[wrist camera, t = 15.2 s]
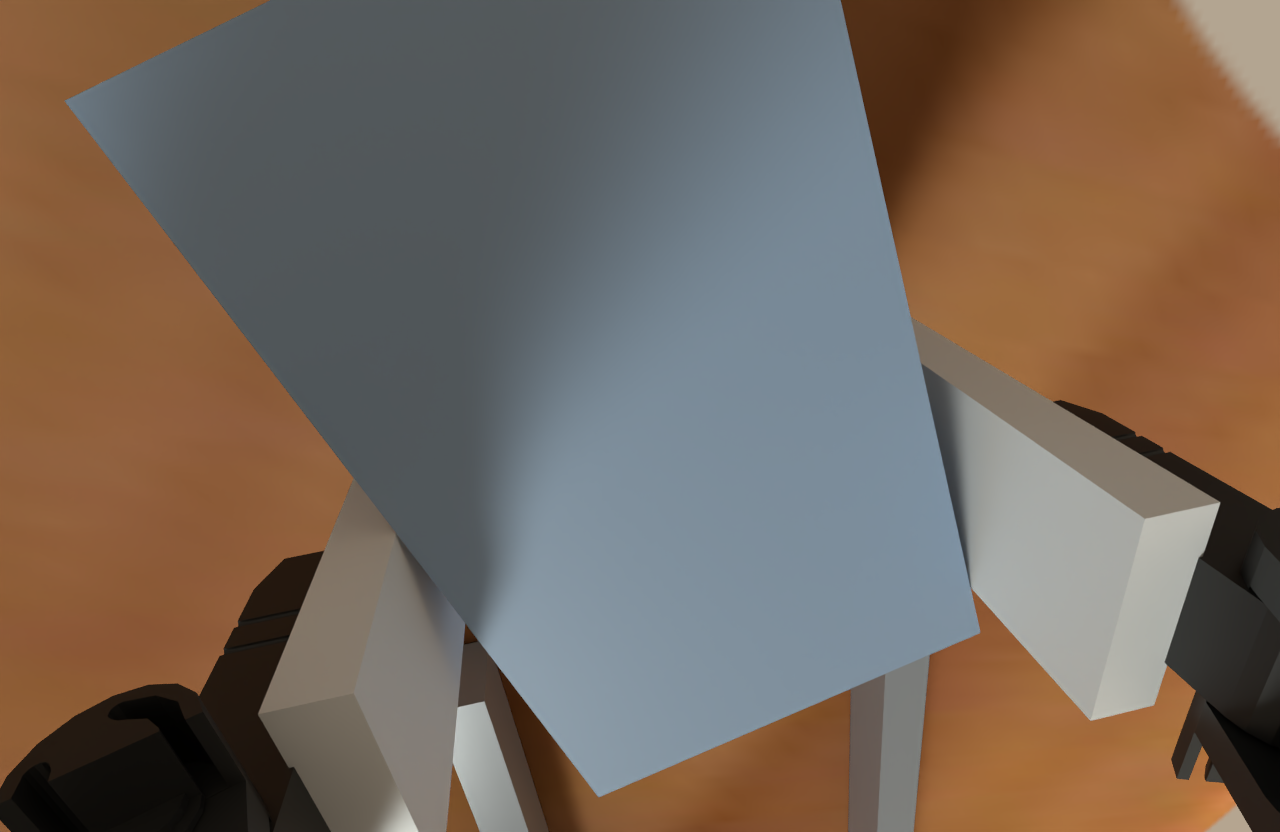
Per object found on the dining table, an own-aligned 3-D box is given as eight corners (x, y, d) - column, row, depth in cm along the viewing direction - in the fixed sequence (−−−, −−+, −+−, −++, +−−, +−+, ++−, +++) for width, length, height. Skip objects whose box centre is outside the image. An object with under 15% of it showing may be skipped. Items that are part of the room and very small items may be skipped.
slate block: (271, 90, 10) (65, 101, 5) (658, -95, 9) (784, -252, 5) (572, 575, 14) (598, 797, 10) (833, 459, 14) (980, 632, 10)
